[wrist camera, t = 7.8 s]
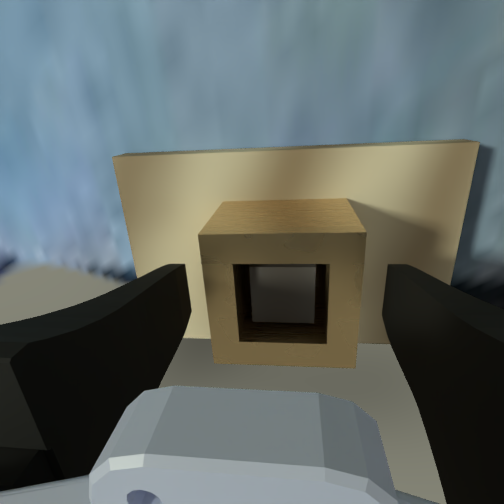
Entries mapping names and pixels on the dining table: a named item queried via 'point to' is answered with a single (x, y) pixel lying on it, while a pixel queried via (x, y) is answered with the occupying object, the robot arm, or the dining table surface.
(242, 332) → the collar
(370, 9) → the dining table surface
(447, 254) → the post stand
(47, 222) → the dining table surface
